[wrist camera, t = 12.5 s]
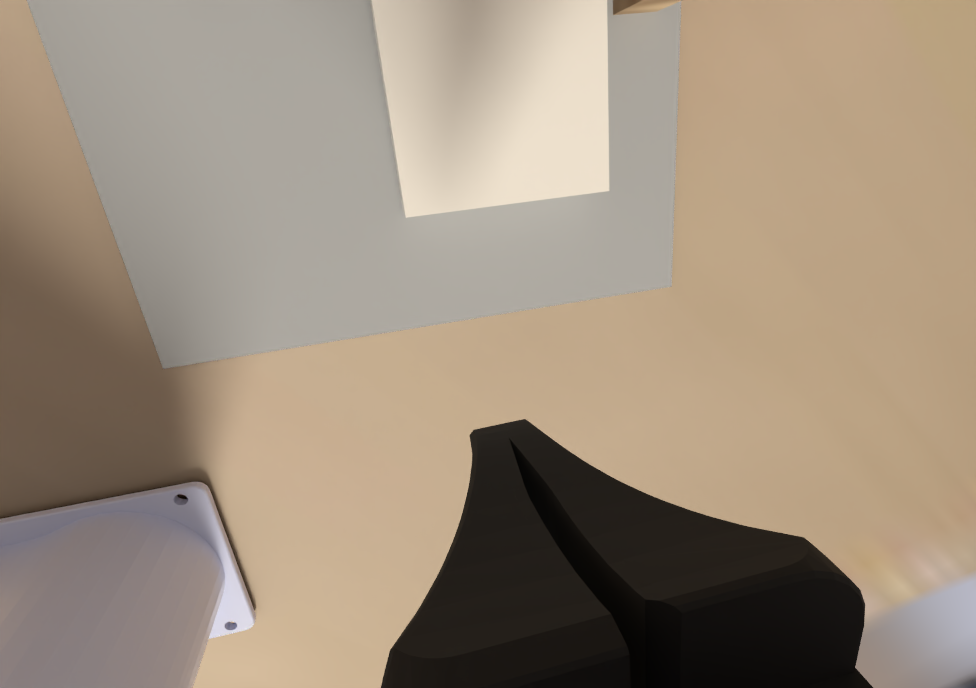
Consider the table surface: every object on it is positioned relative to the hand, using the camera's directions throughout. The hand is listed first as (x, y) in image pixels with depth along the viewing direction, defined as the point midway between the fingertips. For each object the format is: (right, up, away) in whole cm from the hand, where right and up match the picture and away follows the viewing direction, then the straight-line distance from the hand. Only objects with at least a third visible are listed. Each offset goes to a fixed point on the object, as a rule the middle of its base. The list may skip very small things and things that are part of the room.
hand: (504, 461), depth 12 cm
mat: (-3, +11, +6) cm, 13 cm away
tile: (-4, +10, +4) cm, 12 cm away
